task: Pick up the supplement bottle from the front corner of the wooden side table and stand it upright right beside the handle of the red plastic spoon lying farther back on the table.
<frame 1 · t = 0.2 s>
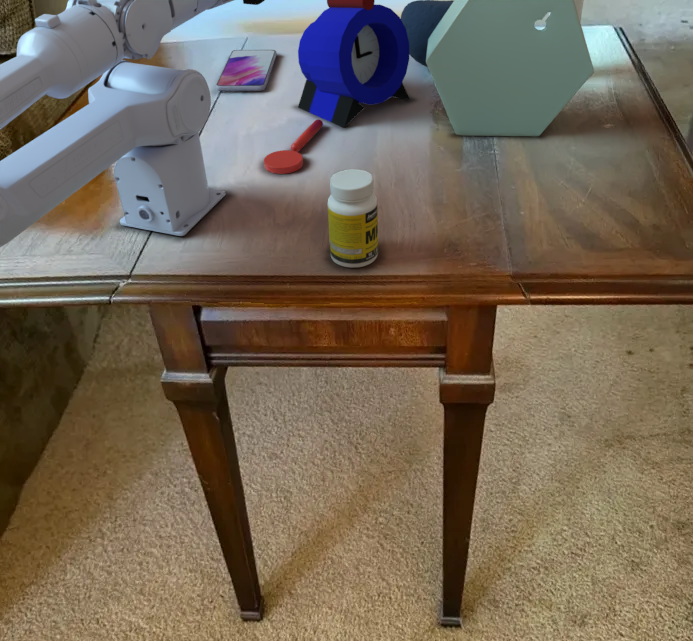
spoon: (302, 145, 95), on the table
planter: (501, 124, 97), on the table
tube: (557, 76, 109), on the table
decorative stone: (440, 67, 114), on the table
supplement bottle: (354, 257, 75), on the table
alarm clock: (351, 103, 105), on the table
smartphone: (248, 73, 115), on the table
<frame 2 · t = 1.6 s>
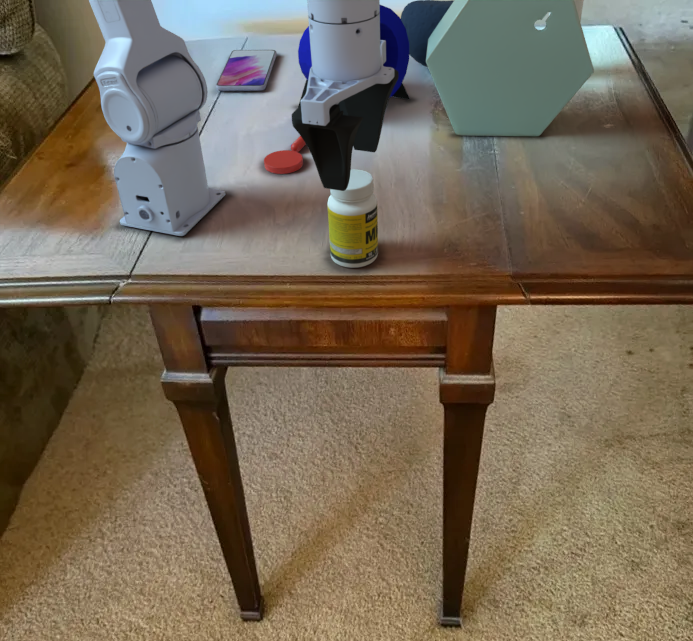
hand: (351, 168, 69), 9 cm above the table, tool pointing down, fingers open, 7 cm apart
nothing on the table moved.
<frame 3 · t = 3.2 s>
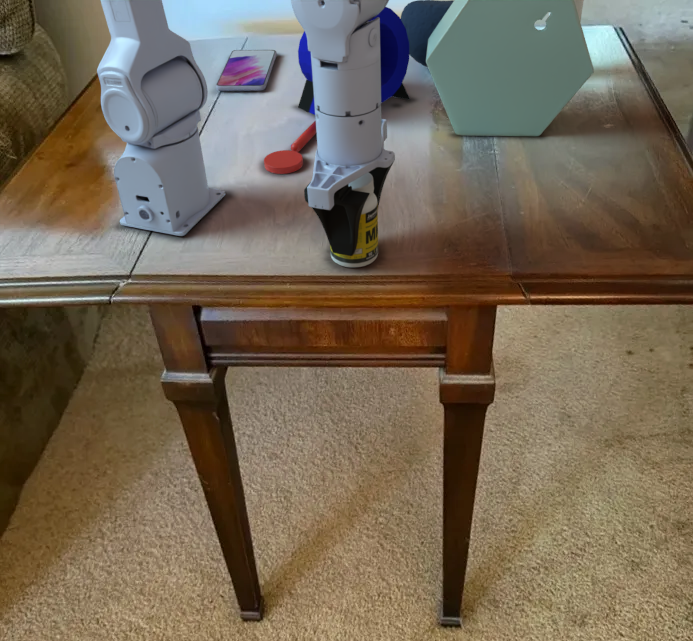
hand: (353, 238, 74), 2 cm above the table, tool pointing down, fingers closed on supplement bottle, 5 cm apart
supplement bottle: (354, 256, 75), on the table, touching gripper
everything else where it was.
when the fingers open (2 cm above the table, at t = 8.4 s): supplement bottle stays where it is, on the table.
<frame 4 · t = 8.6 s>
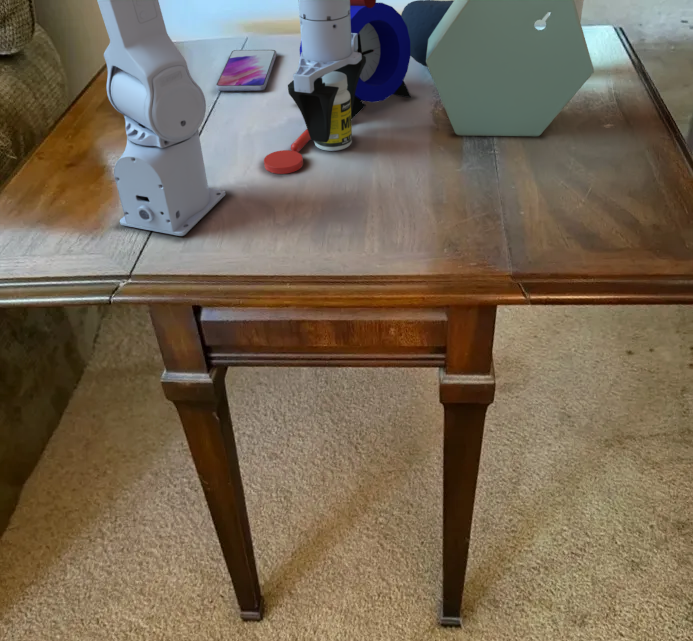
hand: (331, 127, 94), 2 cm above the table, tool pointing down, fingers open, 7 cm apart
supplement bottle: (333, 144, 95), on the table
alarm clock: (352, 101, 105), on the table, touching gripper
everything else where it was.
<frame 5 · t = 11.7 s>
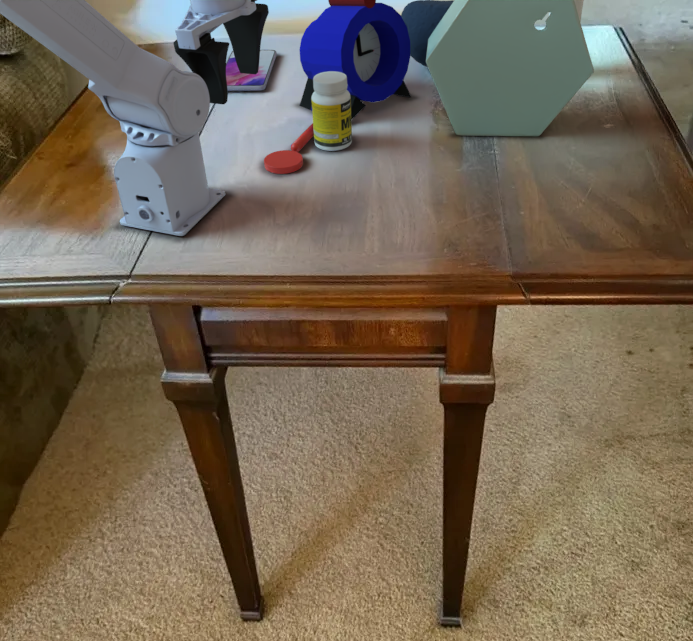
hand: (234, 87, 86), 9 cm above the table, tool pointing down, fingers open, 7 cm apart
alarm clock: (352, 101, 105), on the table
everything else where it was.
at the end: supplement bottle 0.3 cm from the target spot on the table beside the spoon, on the table; supplement bottle tilted 0° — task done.
